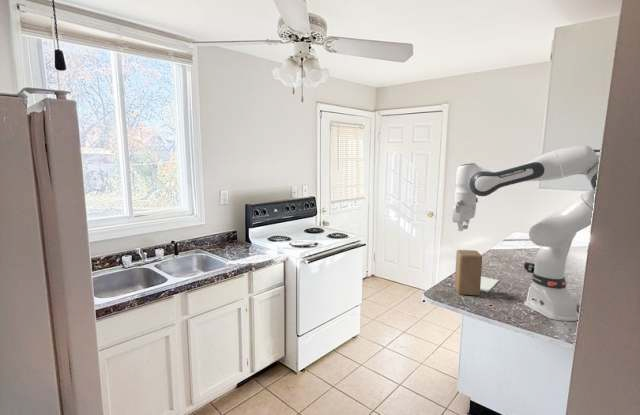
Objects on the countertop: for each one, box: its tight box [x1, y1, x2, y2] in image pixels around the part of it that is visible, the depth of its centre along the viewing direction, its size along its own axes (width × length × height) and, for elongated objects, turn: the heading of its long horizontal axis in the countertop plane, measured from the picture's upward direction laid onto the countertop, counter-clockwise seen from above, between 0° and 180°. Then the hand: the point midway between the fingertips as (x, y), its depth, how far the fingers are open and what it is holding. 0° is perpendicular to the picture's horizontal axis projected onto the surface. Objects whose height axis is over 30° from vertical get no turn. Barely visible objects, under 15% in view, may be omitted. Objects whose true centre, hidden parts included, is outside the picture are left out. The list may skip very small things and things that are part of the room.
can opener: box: [523, 262, 535, 273], centre depth 195 cm, size 18×7×6 cm, turn 45°
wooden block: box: [454, 249, 483, 296], centre depth 165 cm, size 10×10×20 cm
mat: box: [480, 275, 500, 293], centre depth 179 cm, size 22×16×1 cm
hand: (463, 229), depth 153 cm, fingers open, 5 cm apart
